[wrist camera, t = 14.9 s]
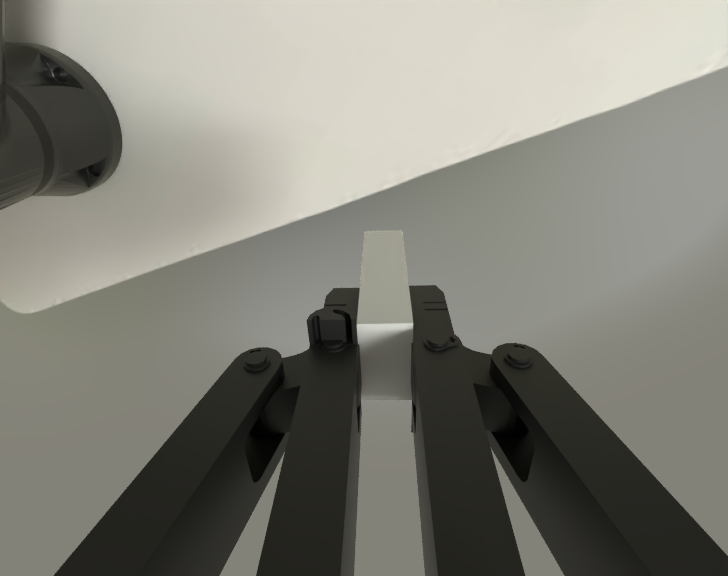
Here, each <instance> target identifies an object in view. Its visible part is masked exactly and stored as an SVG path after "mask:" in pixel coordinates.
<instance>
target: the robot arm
mask: <svg viewBox="0 0 728 576" xmlns="http://www.w3.org/2000/svg"><path fill="white" fill-rule="evenodd" d="M121 150H122V136H121V129H120V125H119V121H118V118H117V115H116V112H115V110H114V108H113V106H112V104H111V102H110V100H109V98H108V97H107V95H106V93H105V92H104V90H103V89H102V88H101V86H100V85H99V84H98V83H97V81H96V80H95V79H94V78H93V77H92V76H91V75H90V74H89V73H88V72H87V71H86V70H85V69H84V68H83V67H81V66H80V65H79V64H78V63H76V62H75V61H74V60H72V59H71V58H69V57H67V56H66V55H64V54H62V53H60V52H58V51H56V50H54V49H51V48H49V47H45V46H42V45H38V44H32V43H5V0H0V210H1V209H3V208H6V207H8V206H10V205H12V204H14V203H17V202H19V201H21V200H23V199H25V198H28V197H30V196H71V195H77V194H81V193H84V192H86V191H89V190H91V189H93V188H95V187H97V186H99V185H101V184H102V183H104V182H105V181H106V180H107V179H108V178H109V177H110V176H111V175H112V174H113V173H114V171H115V169H116V167H117V165H118V163H119V160H120V156H121ZM307 326H308V334H309V342H310V347H309V349H308V350H307V351H305V352H303V353H300V354H297V355H294V356H290V357H286V358H282V357H281V354H280V353H279V352H278V351H276V350H274V349H271V348H255V349H250V350H248V351H246V352H244V353H242V354H240V355H239V356H238V357H237V358H236V359H235V360H234V361H233V362H232V363H231V365H230V366H229V367H228V368H227V369H226V370H225V372H224V373H223V374H222V375H221V376H220V377H219V379H218V380H217V381H216V382H215V383H214V385H213V386H212V387H211V388H210V390H209V391H208V392H207V393H206V394H205V395H204V397H203V398H202V399H201V400H200V401H199V403H198V404H197V405H196V406H195V407H194V409H193V410H192V411H191V412H190V413H189V415H188V416H187V417H186V418H185V419H184V420H183V422H182V423H181V424H180V425H179V426H178V428H177V429H176V430H175V431H174V432H173V434H172V435H171V436H170V437H169V439H168V440H167V441H166V442H165V443H164V444H163V446H162V447H161V448H160V449H159V450H158V452H157V453H156V454H155V455H154V456H153V458H152V459H151V460H150V461H149V462H148V463H147V465H146V466H145V467H144V468H143V469H142V471H141V472H140V473H139V474H138V475H137V477H136V478H135V479H134V480H133V481H132V483H131V484H130V485H129V486H128V487H127V489H126V490H125V491H124V492H123V493H122V495H121V496H120V497H119V498H118V499H117V501H116V502H115V503H114V504H113V505H112V506H111V508H110V509H109V510H108V511H107V512H106V514H105V515H104V516H103V517H102V519H101V520H100V521H99V522H98V523H97V525H96V526H95V527H94V528H93V529H92V530H91V532H90V533H89V534H88V535H87V536H86V538H85V539H84V540H83V541H82V542H81V544H80V545H79V546H78V547H77V548H76V550H75V551H74V552H73V553H72V554H71V555H70V557H69V558H68V559H67V560H66V562H65V563H64V564H63V565H62V566H61V567H60V569H59V570H58V571H57V572H56V573H55V575H54V576H219V575H220V573H221V571H222V569H223V567H224V566H225V564H226V562H227V560H228V558H229V556H230V554H231V552H232V550H233V548H234V547H235V545H236V543H237V541H238V539H239V537H240V535H241V533H242V531H243V530H244V528H245V526H246V523H247V522H248V520H249V518H250V516H251V514H252V512H253V510H254V509H255V507H256V505H257V503H258V501H259V499H260V497H261V495H262V493H263V491H264V490H265V488H266V486H267V484H268V482H269V480H270V478H271V476H272V474H273V473H274V471H275V469H276V467H277V465H278V463H279V461H280V459H281V457H282V455H283V453H284V452H285V454H284V458H283V463H282V467H281V472H280V476H279V480H278V484H277V489H276V493H275V497H274V502H273V506H272V510H271V515H270V519H269V523H268V527H267V532H266V536H265V540H264V545H263V549H262V553H261V557H260V561H259V566H258V570H257V575H256V576H354V561H355V560H354V559H355V538H356V519H357V518H356V517H357V496H358V477H359V457H360V455H359V454H360V436H361V414H362V413H361V400H412V431H411V432H413V433H414V444H415V457H416V469H417V482H418V492H419V506H420V517H421V530H422V542H423V555H424V567H425V576H525V573H524V569H523V566H522V562H521V559H520V555H519V551H518V547H517V544H516V540H515V536H514V533H513V529H512V525H511V522H510V518H509V514H508V510H507V508H506V503H505V499H504V496H503V492H502V488H501V485H500V481H499V477H498V474H497V470H496V466H495V463H494V459H493V455H492V452H491V448H492V450H493V452H494V454H495V455H496V457H497V459H498V460H499V462H500V464H501V466H502V467H503V469H504V471H505V473H506V474H507V476H508V478H509V480H510V481H511V483H512V485H513V486H514V488H515V490H516V492H517V494H518V495H519V497H520V499H521V501H522V502H523V504H524V506H525V507H526V509H527V511H528V513H529V514H530V516H531V518H532V520H533V521H534V523H535V525H536V526H537V528H538V530H539V532H540V533H541V535H542V537H543V539H544V540H545V542H546V544H547V545H548V547H549V549H550V551H551V553H552V554H553V556H554V558H555V560H556V561H557V563H558V565H559V567H560V568H561V570H562V572H563V574H564V575H565V576H728V556H727V555H726V554H725V553H724V552H723V550H721V548H720V547H719V546H718V545H717V544H716V543H715V542H714V541H713V540H712V539H711V537H710V536H709V535H708V534H707V533H706V532H705V531H704V530H703V529H702V528H701V527H700V525H698V523H697V522H696V521H695V520H694V519H693V518H692V517H691V516H690V515H689V514H688V512H687V511H686V510H685V509H684V508H683V507H682V506H681V505H680V504H679V503H678V502H677V501H676V500H675V498H674V497H673V496H672V495H671V494H670V493H669V492H668V491H667V490H666V489H665V488H664V487H663V486H662V484H661V483H660V482H659V481H658V480H657V479H656V478H655V477H654V476H653V475H652V474H651V472H650V471H649V470H648V469H647V468H646V467H645V466H644V465H643V464H642V463H641V461H640V460H639V459H638V458H637V457H636V456H635V455H634V454H633V453H632V452H631V451H630V450H629V448H628V447H627V446H626V445H625V444H624V443H623V442H622V441H621V440H620V439H619V438H618V437H617V435H616V434H615V433H614V432H613V431H612V430H611V429H610V428H609V427H608V426H607V425H606V424H605V423H604V421H603V420H602V419H601V418H600V417H599V416H598V415H597V414H596V413H595V412H594V411H593V409H592V408H591V407H590V406H589V405H588V404H587V403H586V402H585V401H584V400H583V399H582V398H581V396H580V395H579V394H578V393H577V392H576V391H575V390H574V389H573V388H572V387H571V386H570V385H569V383H568V382H567V381H566V380H565V379H564V378H563V377H562V376H561V375H560V374H559V373H558V371H557V370H556V369H555V368H554V367H553V366H552V365H551V364H550V363H549V362H548V361H547V360H546V359H545V358H544V356H543V355H542V354H540V353H539V352H538V351H537V350H535V349H534V348H531V347H529V346H527V345H522V344H517V343H506V344H503V345H500V346H497V347H496V348H495V349H494V350H493V353H492V355H490V354H485V353H480V352H476V351H473V350H470V349H468V348H466V347H464V346H463V345H462V343H461V341H460V339H459V337H457V336H456V335H454V331H453V327H452V323H451V319H450V315H449V312H448V308H447V304H446V300H445V296H444V293H443V292H442V291H441V290H440V289H439V288H438V287H437V286H435V285H431V286H430V285H429V286H409V283H408V275H407V266H406V258H405V250H404V243H403V233H402V230H393V231H365V234H364V245H363V257H362V269H361V280H360V288H334V289H333V290H332V291H331V292H330V293H329V294H328V295H327V296H326V299H325V304H324V308H323V309H320V310H317V311H315V312H314V313H312V314H311V315H310V316H309V317H308V319H307ZM490 447H491V448H490Z"/></svg>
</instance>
